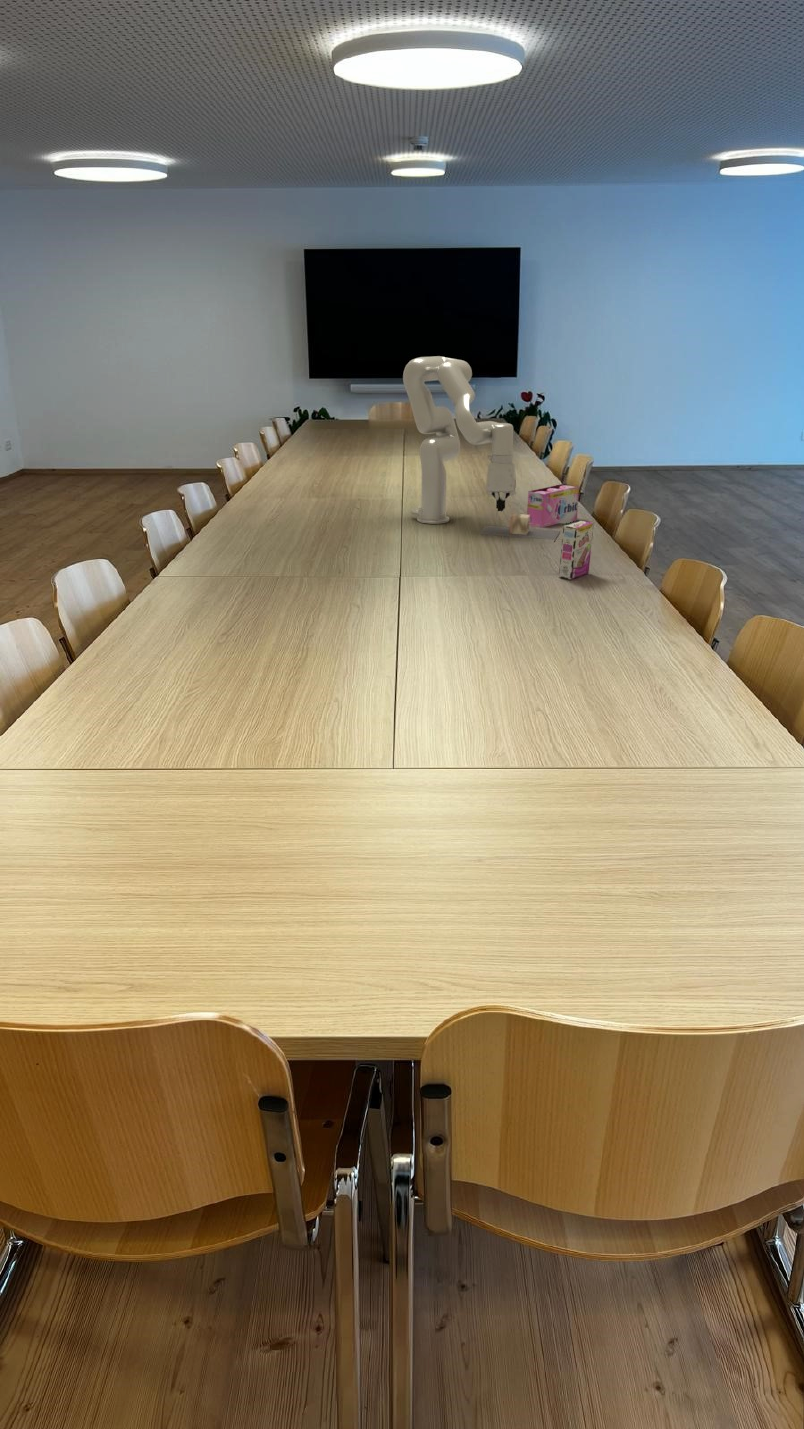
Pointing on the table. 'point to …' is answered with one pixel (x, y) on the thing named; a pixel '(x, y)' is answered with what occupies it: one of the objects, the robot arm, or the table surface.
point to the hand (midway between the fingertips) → (500, 510)
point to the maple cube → (519, 524)
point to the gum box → (553, 505)
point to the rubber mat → (531, 534)
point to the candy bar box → (576, 550)
